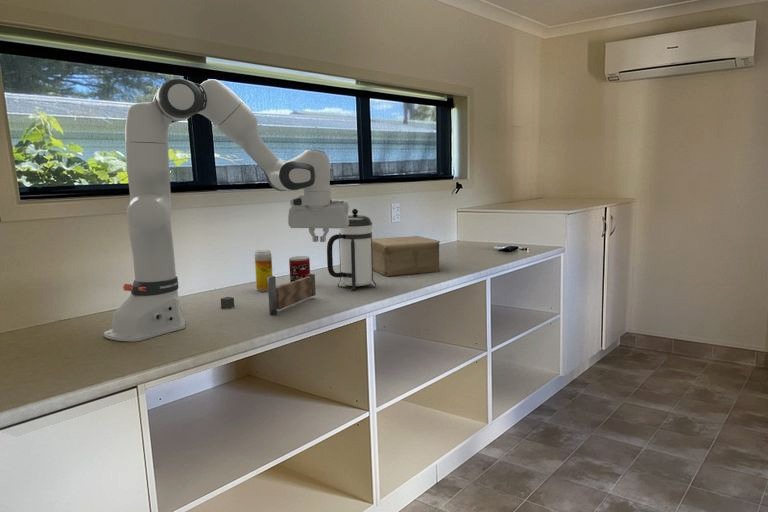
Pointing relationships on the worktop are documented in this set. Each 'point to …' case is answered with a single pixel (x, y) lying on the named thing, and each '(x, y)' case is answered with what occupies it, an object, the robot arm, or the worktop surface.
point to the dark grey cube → (227, 302)
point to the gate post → (272, 295)
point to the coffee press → (353, 252)
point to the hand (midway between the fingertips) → (319, 241)
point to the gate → (295, 291)
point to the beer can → (263, 269)
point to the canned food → (299, 267)
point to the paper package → (405, 255)
